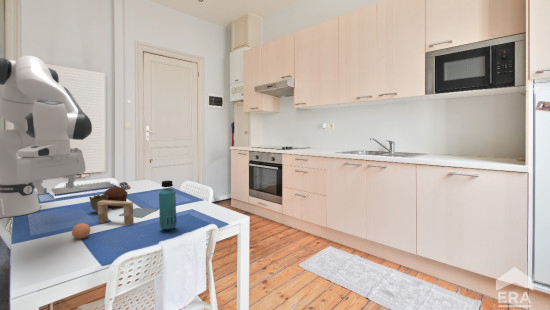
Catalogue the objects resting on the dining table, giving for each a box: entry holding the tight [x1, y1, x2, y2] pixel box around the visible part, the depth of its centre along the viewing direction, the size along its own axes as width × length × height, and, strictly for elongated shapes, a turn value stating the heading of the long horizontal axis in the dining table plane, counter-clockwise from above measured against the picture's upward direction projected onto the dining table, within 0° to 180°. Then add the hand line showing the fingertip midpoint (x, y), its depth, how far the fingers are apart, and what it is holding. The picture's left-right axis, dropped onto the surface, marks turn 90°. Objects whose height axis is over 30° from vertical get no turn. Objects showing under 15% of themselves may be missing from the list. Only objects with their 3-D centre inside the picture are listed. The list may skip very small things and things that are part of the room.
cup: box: [89, 194, 108, 214], centre depth 126 cm, size 8×7×8 cm
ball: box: [71, 222, 91, 240], centre depth 96 cm, size 6×6×6 cm
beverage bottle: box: [158, 180, 178, 230], centre depth 105 cm, size 6×7×20 cm
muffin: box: [102, 186, 128, 210], centre depth 135 cm, size 12×11×10 cm
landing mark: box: [118, 207, 159, 218], centre depth 127 cm, size 12×12×1 cm
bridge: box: [97, 200, 135, 226], centre depth 112 cm, size 3×14×9 cm, turn 80°
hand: (56, 190), depth 88 cm, fingers open, 8 cm apart
